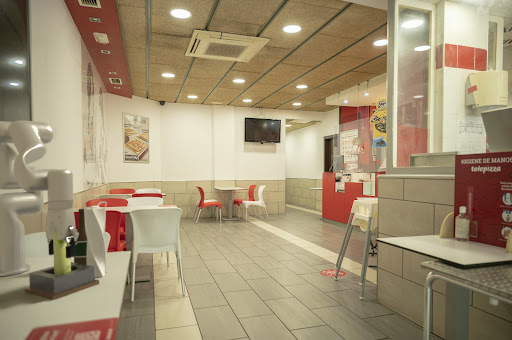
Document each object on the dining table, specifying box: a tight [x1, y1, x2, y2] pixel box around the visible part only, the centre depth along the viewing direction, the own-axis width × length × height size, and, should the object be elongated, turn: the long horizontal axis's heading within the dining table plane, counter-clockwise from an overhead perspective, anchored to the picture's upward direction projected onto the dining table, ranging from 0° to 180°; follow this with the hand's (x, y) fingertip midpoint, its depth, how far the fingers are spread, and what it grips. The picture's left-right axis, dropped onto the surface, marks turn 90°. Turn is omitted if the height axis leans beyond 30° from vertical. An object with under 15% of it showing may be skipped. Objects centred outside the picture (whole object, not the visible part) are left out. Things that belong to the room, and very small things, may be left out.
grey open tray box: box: [24, 261, 100, 301], centre depth 113 cm, size 16×16×6 cm
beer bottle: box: [73, 207, 88, 265], centre depth 139 cm, size 8×8×24 cm
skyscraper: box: [84, 200, 108, 279], centre depth 126 cm, size 8×8×28 cm
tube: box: [53, 229, 72, 275], centre depth 113 cm, size 6×5×20 cm
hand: (62, 255), depth 113 cm, fingers open, 9 cm apart
